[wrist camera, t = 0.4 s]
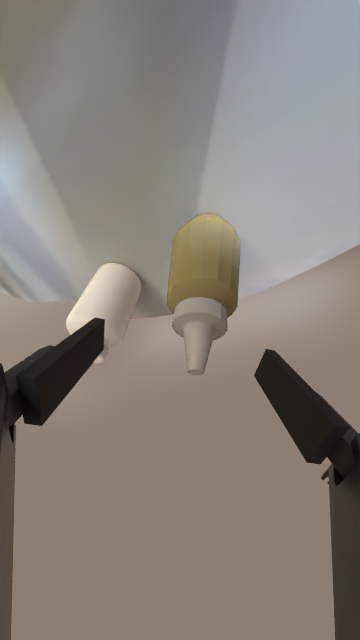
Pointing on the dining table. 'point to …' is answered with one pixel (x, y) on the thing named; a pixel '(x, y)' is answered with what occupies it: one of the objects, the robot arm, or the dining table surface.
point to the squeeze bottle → (203, 284)
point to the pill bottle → (107, 303)
